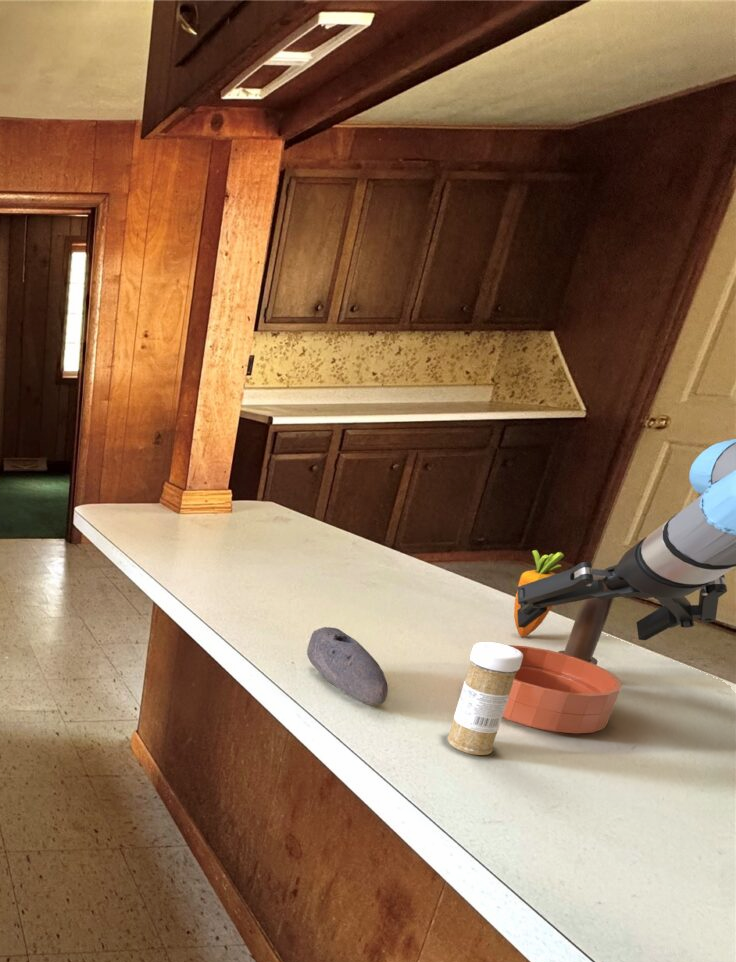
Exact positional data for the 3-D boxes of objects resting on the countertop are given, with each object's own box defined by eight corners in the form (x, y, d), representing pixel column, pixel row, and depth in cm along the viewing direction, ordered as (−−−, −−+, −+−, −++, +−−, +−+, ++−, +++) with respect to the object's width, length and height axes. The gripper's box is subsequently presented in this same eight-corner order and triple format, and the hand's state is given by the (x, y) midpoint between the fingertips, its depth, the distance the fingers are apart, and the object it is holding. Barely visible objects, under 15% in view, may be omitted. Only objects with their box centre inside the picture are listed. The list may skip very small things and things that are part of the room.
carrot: (495, 630, 112) (521, 545, 106) (528, 631, 111) (556, 545, 106) (515, 642, 107) (543, 555, 102) (549, 643, 107) (579, 555, 101)
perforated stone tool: (397, 715, 89) (409, 669, 86) (358, 716, 89) (369, 670, 86) (334, 664, 103) (342, 623, 100) (300, 665, 103) (308, 624, 100)
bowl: (591, 697, 91) (606, 659, 89) (618, 749, 80) (636, 706, 78) (463, 674, 98) (473, 637, 96) (471, 718, 87) (484, 678, 85)
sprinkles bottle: (489, 742, 82) (521, 645, 77) (493, 761, 79) (527, 660, 74) (444, 732, 85) (472, 637, 80) (446, 750, 81) (475, 652, 76)
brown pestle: (587, 672, 98) (625, 570, 92) (594, 685, 94) (634, 580, 88) (548, 665, 100) (582, 565, 94) (553, 677, 96) (589, 575, 91)
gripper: (823, 537, 74) (691, 611, 92) (543, 521, 83) (473, 592, 101) (838, 598, 71) (699, 662, 90) (547, 575, 80) (475, 637, 99)
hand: (579, 625), depth 96 cm, fingers open, 13 cm apart
